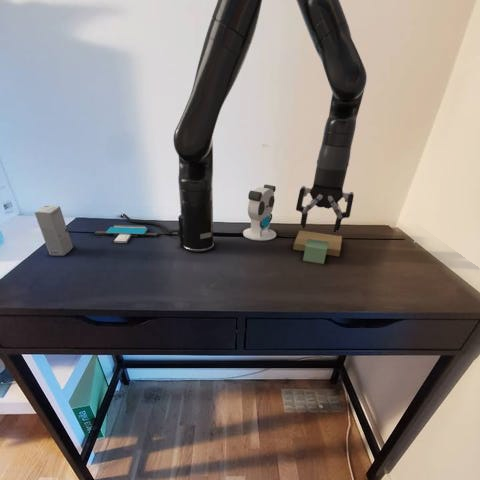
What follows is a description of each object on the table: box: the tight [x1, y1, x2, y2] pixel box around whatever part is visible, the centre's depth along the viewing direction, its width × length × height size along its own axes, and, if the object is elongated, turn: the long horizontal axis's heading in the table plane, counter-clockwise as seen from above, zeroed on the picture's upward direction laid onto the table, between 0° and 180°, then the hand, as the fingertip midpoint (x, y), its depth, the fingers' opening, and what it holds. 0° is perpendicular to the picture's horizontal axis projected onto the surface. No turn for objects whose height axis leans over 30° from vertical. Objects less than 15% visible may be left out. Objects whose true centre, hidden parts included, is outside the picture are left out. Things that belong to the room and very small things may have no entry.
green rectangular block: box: [302, 239, 328, 265], centre depth 93 cm, size 6×10×4 cm, turn 163°
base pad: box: [292, 230, 343, 257], centre depth 100 cm, size 14×12×2 cm
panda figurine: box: [242, 184, 277, 242], centre depth 102 cm, size 12×11×15 cm
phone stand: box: [94, 224, 159, 244], centre depth 100 cm, size 20×12×2 cm, turn 90°
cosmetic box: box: [34, 205, 74, 257], centre depth 86 cm, size 6×4×12 cm
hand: (319, 229), depth 87 cm, fingers open, 8 cm apart
